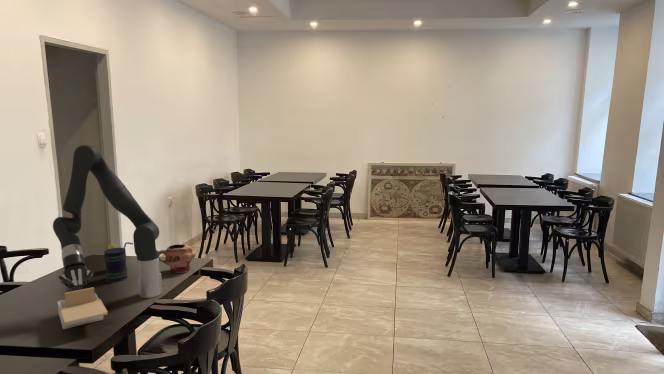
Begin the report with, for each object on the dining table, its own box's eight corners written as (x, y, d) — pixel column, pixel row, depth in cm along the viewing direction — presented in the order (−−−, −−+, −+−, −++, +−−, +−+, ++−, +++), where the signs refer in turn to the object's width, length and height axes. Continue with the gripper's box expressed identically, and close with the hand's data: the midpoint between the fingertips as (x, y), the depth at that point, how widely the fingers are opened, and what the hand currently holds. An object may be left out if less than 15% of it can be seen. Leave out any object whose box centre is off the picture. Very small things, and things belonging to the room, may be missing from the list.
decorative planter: (155, 276, 224) (153, 250, 222) (159, 269, 235) (157, 244, 233) (195, 273, 228) (194, 247, 226) (197, 266, 240) (196, 241, 238)
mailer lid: (100, 300, 177) (99, 285, 176) (107, 314, 165) (106, 298, 164) (60, 309, 169) (58, 294, 168) (64, 324, 156) (63, 307, 155)
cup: (137, 266, 240) (135, 240, 238) (132, 271, 232) (130, 243, 230) (110, 267, 239) (108, 240, 237) (104, 272, 231) (102, 244, 229)
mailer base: (96, 306, 187) (95, 293, 186) (103, 319, 174) (102, 305, 173) (58, 315, 179) (57, 301, 178) (63, 329, 166) (61, 314, 165)
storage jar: (105, 283, 214) (102, 254, 212) (107, 277, 223) (104, 248, 221) (127, 280, 218) (125, 251, 216) (128, 274, 227) (126, 246, 225)
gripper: (54, 256, 174) (60, 294, 167) (91, 250, 182) (99, 286, 174) (54, 265, 179) (60, 303, 171) (90, 259, 187) (97, 295, 179)
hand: (79, 294), depth 173 cm, fingers closed
